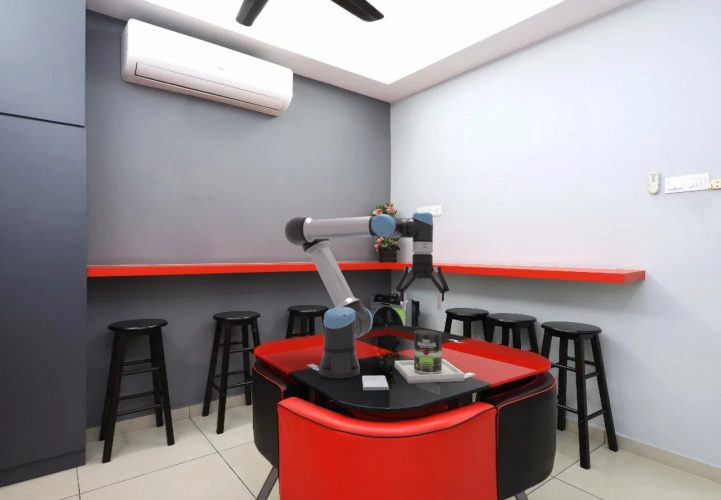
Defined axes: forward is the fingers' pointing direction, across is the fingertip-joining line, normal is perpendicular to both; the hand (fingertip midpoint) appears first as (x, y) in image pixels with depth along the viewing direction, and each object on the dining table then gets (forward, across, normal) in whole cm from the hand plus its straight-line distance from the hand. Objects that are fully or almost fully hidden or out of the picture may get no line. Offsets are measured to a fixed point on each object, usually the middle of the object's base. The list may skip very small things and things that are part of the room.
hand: (421, 310), depth 148 cm
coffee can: (+22, +2, -2) cm, 22 cm away
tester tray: (+23, +2, -2) cm, 23 cm away
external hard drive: (+24, -20, -12) cm, 33 cm away
